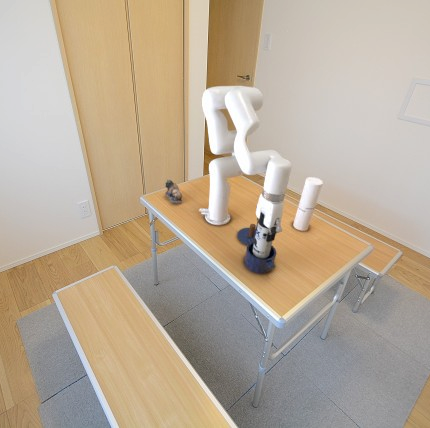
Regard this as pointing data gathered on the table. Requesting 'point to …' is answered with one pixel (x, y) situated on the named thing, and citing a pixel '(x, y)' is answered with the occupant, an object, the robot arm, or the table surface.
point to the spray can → (262, 240)
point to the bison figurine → (173, 192)
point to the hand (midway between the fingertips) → (264, 234)
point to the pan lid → (247, 234)
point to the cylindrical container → (307, 203)
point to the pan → (256, 263)
